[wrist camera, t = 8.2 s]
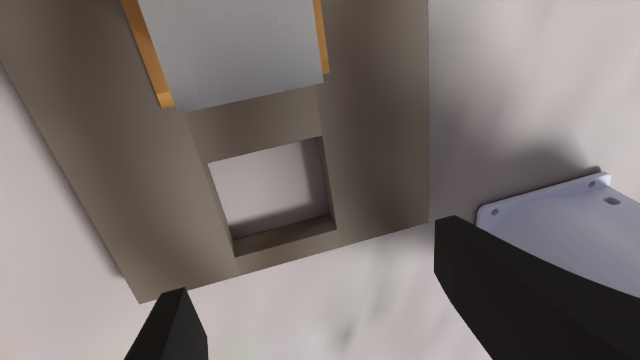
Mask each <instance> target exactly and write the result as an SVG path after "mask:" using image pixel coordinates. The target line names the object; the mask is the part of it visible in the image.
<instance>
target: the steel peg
mask: <svg viewBox="0 0 640 360" xmlns="http://www.w3.org/2000/svg"><path fill="white" fill-rule="evenodd" d="M138 3H139V6H140V9H141V12H142V14H143V17H144V20H145V23H146V26H147V29H148V31H149V34H150V37H151V40H152V43H153V45H154V48H155V51H156V54H157V57H158V60H159V62H160V65H161V68H162V71H163V74H164V77H165V79H166V82H167V85H168V88H169V91H170V93H171V96H172V99H173V102H174V105H175V108H176V110H177V113H178V114H181V113H185V112H190V111H195V110H199V109H204V108H209V107H213V106H218V105H223V104H227V103H232V102H237V101H241V100H246V99H251V98H255V97H260V96H265V95H269V94H274V93H279V92H283V91H288V90H292V89H297V88H302V87H306V86H311V85H316V84H320V83H324V80H323V73H322V66H321V59H320V51H319V44H318V37H317V30H316V22H315V15H314V8H313V1H312V0H138Z"/></svg>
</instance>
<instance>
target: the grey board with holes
mask: <svg viewBox="0 0 640 360" xmlns="http://www.w3.org/2000/svg"><path fill="white" fill-rule="evenodd" d="M312 1H313V8H314V15H315V22H316V30H317V37H318V44H319V51H320V59H321V66H322V73H323V80H324V83H320V84H316V85H311V86H306V87H302V88H297V89H292V90H288V91H283V92H279V93H274V94H269V95H265V96H260V97H255V98H251V99H246V100H241V101H237V102H232V103H227V104H223V105H218V106H213V107H209V108H204V109H199V110H195V111H190V112H185V113H181V114H178V113H177V110H176V108H175V105H174V102H173V99H172V96H171V93H170V91H169V88H168V85H167V82H166V79H165V77H164V74H163V71H162V68H161V65H160V62H159V60H158V57H157V54H156V51H155V48H154V45H153V43H152V40H151V37H150V34H149V31H148V29H147V26H146V23H145V20H144V17H143V14H142V12H141V9H140V6H139V3H138V0H0V63H1V64H2V66H3V68H4V70H5V71H6V73H7V75H8V77H9V78H10V80H11V82H12V84H13V85H14V87H15V89H16V90H17V92H18V94H19V96H20V97H21V99H22V101H23V103H24V104H25V106H26V108H27V110H28V111H29V113H30V115H31V117H32V118H33V120H34V122H35V124H36V125H37V127H38V129H39V130H40V132H41V134H42V136H43V137H44V139H45V141H46V143H47V144H48V146H49V148H50V150H51V151H52V153H53V155H54V157H55V158H56V160H57V162H58V164H59V165H60V167H61V169H62V170H63V172H64V174H65V176H66V177H67V179H68V181H69V183H70V184H71V186H72V188H73V190H74V191H75V193H76V195H77V197H78V198H79V200H80V202H81V204H82V205H83V207H84V209H85V210H86V212H87V214H88V216H89V217H90V219H91V221H92V223H93V224H94V226H95V228H96V230H97V231H98V233H99V235H100V237H101V238H102V240H103V242H104V244H105V245H106V247H107V249H108V250H109V252H110V254H111V256H112V257H113V259H114V261H115V263H116V264H117V266H118V268H119V270H120V271H121V273H122V275H123V277H124V278H125V280H126V282H127V284H128V285H129V287H130V289H131V290H132V292H133V294H134V296H135V297H136V299H137V301H138V303H139V304H142V303H145V302H149V301H152V300H156V299H158V298H159V296H160V295H161V293H164V292H167V291H171V290H175V289H179V288H182V287H185V288H186V290H187V291H188V290H191V289H195V288H198V287H202V286H205V285H209V284H212V283H216V282H219V281H223V280H227V279H230V278H234V277H237V276H241V275H244V274H248V273H251V272H255V271H258V270H262V269H265V268H269V267H272V266H276V265H279V264H283V263H287V262H290V261H294V260H297V259H301V258H304V257H308V256H311V255H315V254H318V253H322V252H325V251H329V250H332V249H336V248H339V247H343V246H347V245H350V244H354V243H357V242H361V241H364V240H368V239H371V238H375V237H378V236H382V235H385V234H389V233H392V232H396V231H400V230H403V229H407V228H410V227H414V226H417V225H421V224H424V223H428V0H312ZM314 137H317V140H318V146H319V152H320V158H321V164H322V170H323V176H324V182H325V188H326V194H327V200H328V206H329V212H330V214H329V215H325V216H321V217H317V218H314V219H310V220H306V221H303V222H299V223H295V224H291V225H288V226H284V227H280V228H277V229H273V230H269V231H266V232H262V233H258V234H254V235H251V236H247V237H243V238H240V239H236V240H233V237H232V234H231V231H230V228H229V225H228V223H227V220H226V217H225V214H224V211H223V208H222V205H221V202H220V199H219V196H218V193H217V191H216V188H215V185H214V182H213V179H212V176H211V173H210V170H209V167H208V164H207V163H210V162H214V161H218V160H223V159H227V158H231V157H235V156H239V155H243V154H248V153H252V152H256V151H260V150H264V149H268V148H273V147H277V146H281V145H285V144H289V143H293V142H298V141H302V140H306V139H310V138H314Z"/></svg>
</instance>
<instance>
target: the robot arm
mask: <svg viewBox="0 0 640 360" xmlns="http://www.w3.org/2000/svg"><path fill="white" fill-rule="evenodd" d="M610 181H611V175H610V174H608V173H606V172H600V173H596V174H593V175H589V176H586V177H582V178H578V179H575V180H571V181H568V182H564V183H561V184H557V185H554V186H550V187H547V188H543V189H540V190H536V191H532V192H529V193H525V194H522V195H518V196H515V197H511V198H508V199H504V200H501V201H497V202H494V203H490V204H486V205H484V206H482V207H481V208H480V209H479V210H478V213H477V223H476V226H475V225H473V224H471V223H469V222H467V221H465V220H463V219H461V218H459V217H457V216H455V215H453V216H449V217H446V218H442V219H438V220H435V246H434V273H435V275H436V277H437V279H438V281H439V282H440V284H441V286H442V288H443V290H444V292H445V293H446V295H447V297H448V298H449V300H450V302H451V303H452V305H453V306H454V308H455V309H456V310H457V312H458V313H459V315H460V316H461V317H462V319H463V320H464V321H465V323H466V324H467V326H468V327H469V328H470V330H471V331H472V332H473V334H474V335H475V336H476V338H477V339H478V340H479V342H480V343H481V345H482V346H483V347H484V349H485V350H486V351H487V353H488V354H489V355H490V357H491V358H492V359H493V360H640V203H638V202H636V201H635V200H633V199H631V198H629V197H627V196H625V195H623V194H622V193H620V192H618V191H616V190H614V189H612V188H611V187H609V184H610ZM124 360H208V344H207V335H206V333H205V331H204V329H203V326H202V324H201V322H200V320H199V317H198V315H197V313H196V311H195V308H194V306H193V304H192V302H191V299H190V297H189V295H188V293H187V290H186V288H185V287H182V288H179V289H175V290H171V291H167V292H164V293H161V295H160V296H159V298H158V300H157V301H156V303H155V305H154V307H153V309H152V310H151V312H150V314H149V316H148V318H147V320H146V321H145V323H144V325H143V327H142V329H141V330H140V332H139V334H138V336H137V338H136V339H135V341H134V343H133V345H132V346H131V348H130V350H129V351H128V353H127V355H126V357H125V358H124Z"/></svg>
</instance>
